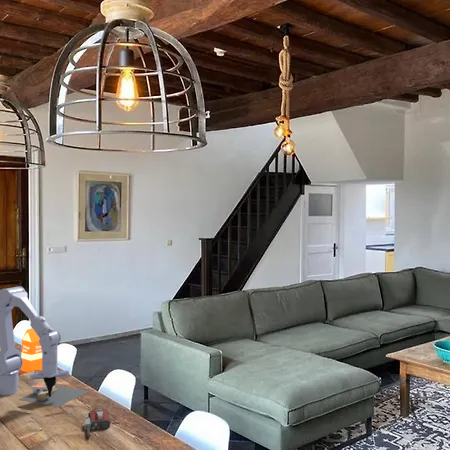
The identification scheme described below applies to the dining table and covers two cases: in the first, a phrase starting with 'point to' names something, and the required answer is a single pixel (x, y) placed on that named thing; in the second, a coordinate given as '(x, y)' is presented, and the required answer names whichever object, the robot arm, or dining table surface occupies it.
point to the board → (57, 396)
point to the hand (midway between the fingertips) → (49, 396)
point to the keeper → (38, 388)
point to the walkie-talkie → (97, 420)
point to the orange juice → (31, 352)
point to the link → (46, 393)
